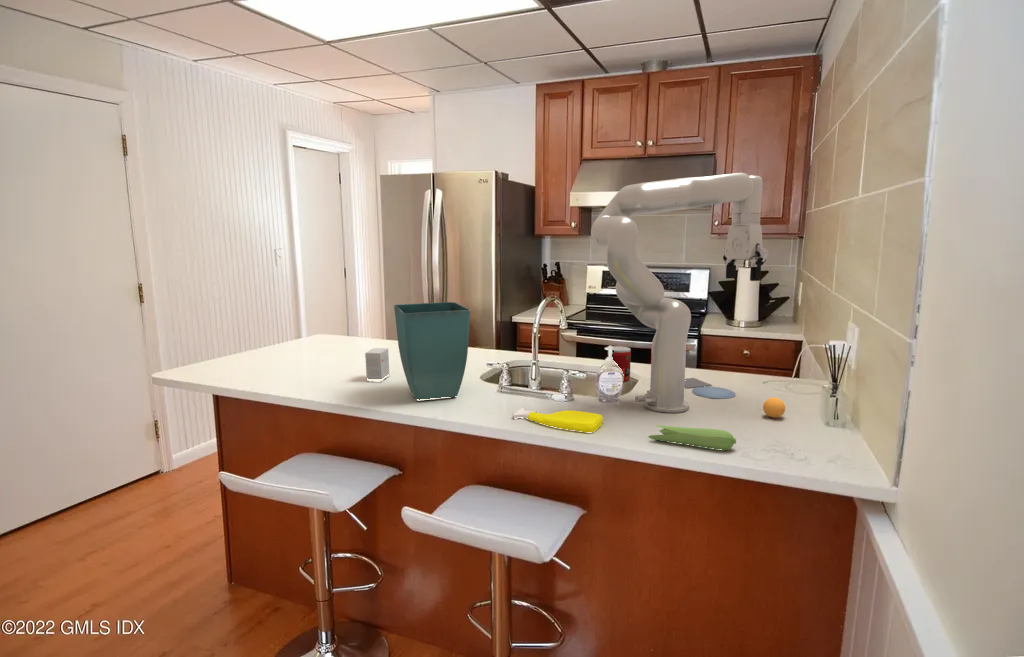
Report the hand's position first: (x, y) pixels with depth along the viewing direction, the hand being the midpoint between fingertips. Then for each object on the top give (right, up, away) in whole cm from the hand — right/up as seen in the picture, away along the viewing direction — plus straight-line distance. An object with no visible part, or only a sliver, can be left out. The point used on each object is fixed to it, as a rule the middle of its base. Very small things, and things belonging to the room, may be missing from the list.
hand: (742, 279), depth 162 cm
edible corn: (-25, -43, -29) cm, 57 cm away
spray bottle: (-56, -40, -13) cm, 70 cm away
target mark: (-4, -35, +13) cm, 37 cm away
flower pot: (-92, -36, +13) cm, 100 cm away
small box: (-115, -33, +33) cm, 124 cm away
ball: (+4, -36, -11) cm, 38 cm away
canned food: (-31, -32, +30) cm, 54 cm away
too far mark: (-8, -33, +24) cm, 41 cm away
